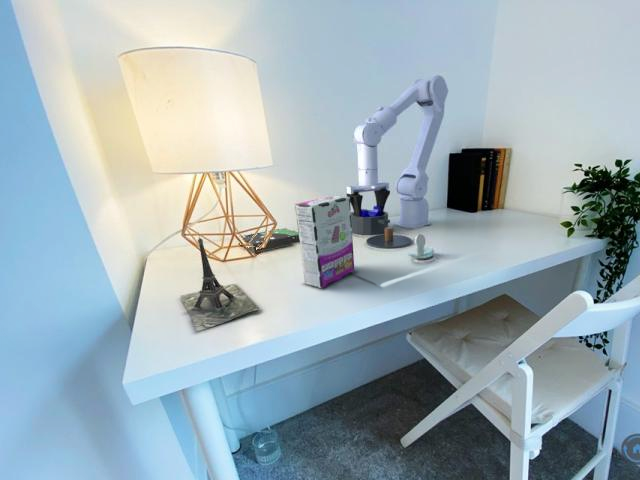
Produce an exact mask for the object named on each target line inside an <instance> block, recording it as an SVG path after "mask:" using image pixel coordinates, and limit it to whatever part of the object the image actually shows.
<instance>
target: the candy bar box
mask: <svg viewBox="0 0 640 480" xmlns="http://www.w3.org/2000/svg"><path fill="white" fill-rule="evenodd" d="M351 207H352V206H351V203H350V197H347V195H346V196H344V195H329V196H325V197H320V198H316V199H312V200H311V199H310V200H308V201H307V200H306V201H302V202H299V203H294V208H295V209H294V210H295V216H296V222H297V223H296V225H297V232H299V240H300V242H299V246H300V254H301V261H302V269H303V270H302V271H303V279H304V284H305V285H307V286H311V287H314V288H318V289H324V288H326V287H329V286H330V285H332V284H334V283H336V282H337V281H338V282H339V280H341V279H343V278H345V277H347V276H348V275H351V274H353V272H354V271H355V258H354V257H355V256H354V255H355V254H354V241H353V233H352V223H351V212H352V210H351Z"/></svg>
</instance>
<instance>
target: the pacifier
mask: <svg viewBox="0 0 640 480" xmlns="http://www.w3.org/2000/svg"><path fill="white" fill-rule="evenodd" d="M414 243H415V244H414V245H416V253H409V252H406V255H408V256H409V257H412V258H413V262H415V263H420V264H424V263H431V262H434V261H436V260H437V258H438V257H437V256H436V255H434V254H435V250H434V248H433V247H432V246H425V245H426V237H425V235H424V234H422V233H418V234H417V235H416V236H415V238H414ZM428 258H429V259H428Z"/></svg>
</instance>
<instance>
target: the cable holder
mask: <svg viewBox="0 0 640 480" xmlns="http://www.w3.org/2000/svg"><path fill="white" fill-rule="evenodd" d="M381 207H382V206H377V205H373V207H372V208H373V209H369V210H370V211H369V212H368V211H367V210H368V209H367V208H361V217H377V216H382V214H381Z"/></svg>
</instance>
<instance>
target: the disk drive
mask: <svg viewBox="0 0 640 480" xmlns="http://www.w3.org/2000/svg"><path fill="white" fill-rule="evenodd" d="M274 230H275V231H274V232H273V234H272V236H271V238H270V239H269V241H268V243H267V245H266V247H265V248H261V249H257V250H256V247H259V246H260V245H261V244H262V243H263V242H264V238H265V234H266V231H262V232H256V233H257V235H256V236H255V237H254V238H253V240H252V241H251V242H250V244H251V245H253V246H255V247H249V248H248V247H247V249H248V250H247V249H246V248H244V249H246V250H247V251H249V252H251V253H260V252H265V251H270V250H271V251H272V250H275V249H279V248H282V247H287V246H293V244H295V243H300V240H299V232H298V231H296V230H291V229H288V228H287V227H285V228H277V229H276V228H275V229H274ZM254 234H255V233H250V234H243V235H240V236H241V237H242V238H243V240H244V241H245V242H246V243H249V241H250V240H251V238H252V236H253V235H254ZM237 243H238V242H237ZM237 245H238V246H240V243H238V244H237Z"/></svg>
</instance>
